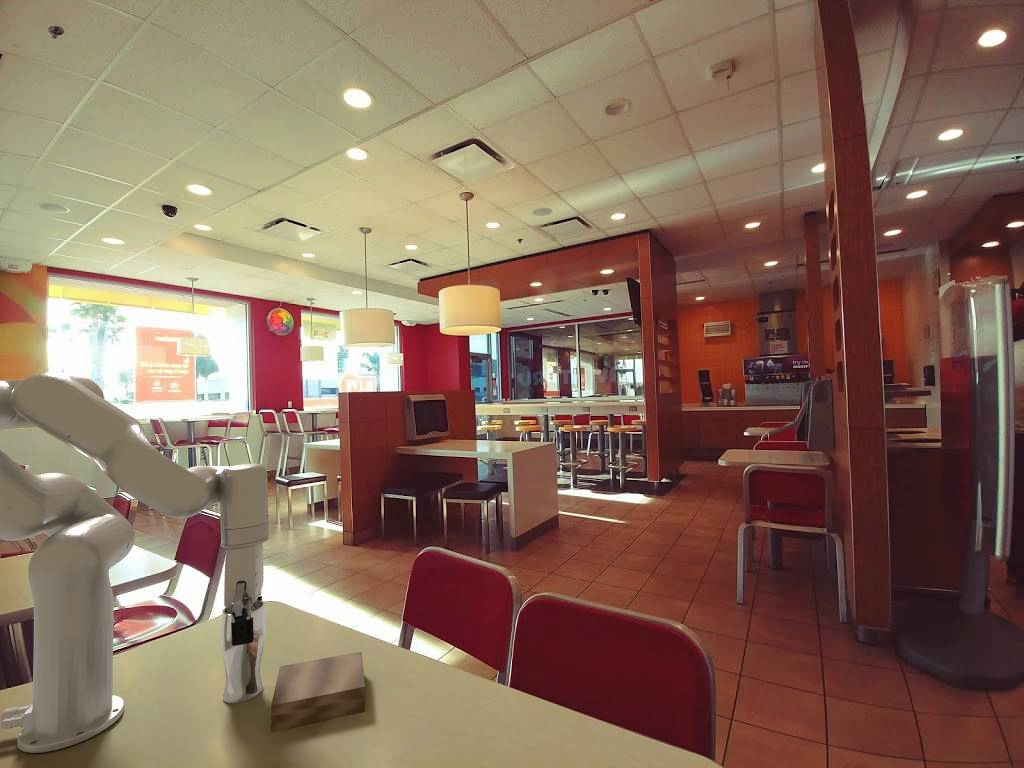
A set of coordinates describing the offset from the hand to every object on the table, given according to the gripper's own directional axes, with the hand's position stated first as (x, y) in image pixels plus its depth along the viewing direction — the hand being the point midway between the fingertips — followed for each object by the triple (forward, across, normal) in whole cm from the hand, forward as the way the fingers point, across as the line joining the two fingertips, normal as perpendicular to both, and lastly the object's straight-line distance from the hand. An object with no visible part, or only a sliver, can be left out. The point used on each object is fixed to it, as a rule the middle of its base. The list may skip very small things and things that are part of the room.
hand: (248, 630), depth 86 cm
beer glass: (+11, 0, -1) cm, 11 cm away
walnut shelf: (+11, +7, +12) cm, 18 cm away
